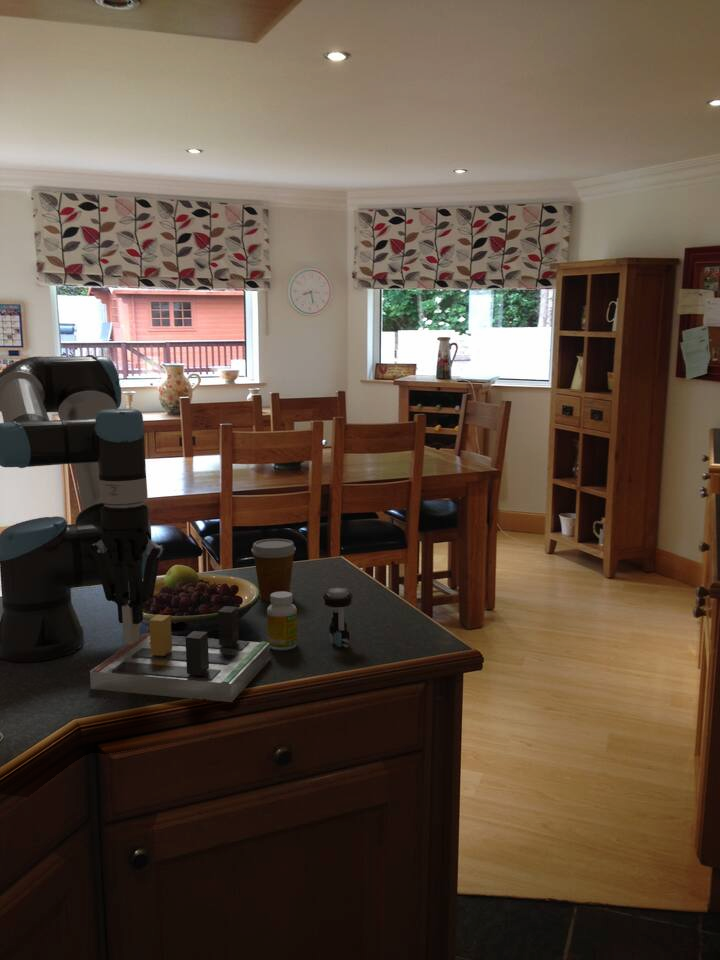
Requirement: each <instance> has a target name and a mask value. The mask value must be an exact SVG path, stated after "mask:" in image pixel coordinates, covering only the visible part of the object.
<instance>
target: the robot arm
mask: <svg viewBox="0 0 720 960" xmlns="http://www.w3.org/2000/svg"><path fill="white" fill-rule="evenodd" d="M121 387H122V386H121V383H120V376H119V373H118V369H117V366H116V365H115V363H114V362H113V360H112V359H110V358H109V357H107V356H104V355H93V354H86V355H85V356H84V355H83V356H82V355H80V356H32V357H25V358H23V359H21V360H18V361H15V362H13V363H12V364H10V365H8V366H6V367H5V368H4V369H2V371H0V412H1V416H2V420H3V422H1V423H0V466H1V467H2V468H20V469H24V468H25V469H26V468H32V467H44V466H45V467H46V466H58V465H71V464H72V465H74V469H75V475H76V476H75V477H76V482H77V488H78V493H79V499H80V500H79V501H80V507H81V510H80V511H79V513H78V514H77V516H76V517H75V523H74V524H72V523H71V524H68V521H67V520H66V518H65V517H64V516H63V517H62V516H43V517H38V518H37V517H36V518H32V519H28V520H25V521H21V522H18V523H15V524H13V525H10V526H9V527H6V528H5V529H3V530H2V531H1V532H0V587H1V588H0V589H1V601H2V602H1V603H2V604H1V605H2V613H1V616H0V659H1V660H4V661H8V662H15V663H16V662H17V663H34V662H43V661H49V660H53V658H54V659H57V657H58V658H60V656H62V657H64V655H65V656H67V655H66V654H68V653H70V654H72V653H74V652H76V651H78V650H79V649H80V648H79V647H80V646H81V645H82V644H83V643H85V639H84V638H85V636H84V635H85V634H84V629H83V627H82V626H81V622H80V620H79V618H78V615H77V613H76V609H75V608H74V606H73V602H72V592H71V591H72V590H71V589H76V588H85V587H87V588H88V587H94V586H102V589H103V592H104V595H105V596H104V597H105V600H107V601H108V602H113V603H115V604H116V605H117V614H118V615H117V616H118V617H117V621H118V622H119V624H122V630H123V631H122V632H123V645H128V644H131V645H132V644H134V643H135V642H137V641H138V640H139V639H140V634H141V633H140V631H141V630H140V623H142V622H143V620H144V609H143V604H146V603H147V602H148V601H150V600H152V599H153V598H154V594H155V587H156V582H157V577H158V571H159V566H160V562H161V561H160V559H161V558H162V556H163V554H164V552H165V550H166V546H165V545H164V544H160V545H159V544H157V543H156V542H154V541H153V539H152V527H151V526H152V525H151V520H150V519H149V518H150V517H149V505H148V504H147V503H146V502H147V500H149V497H148V496H149V495H148V482H147V481H148V480H147V470H146V468H147V467H146V446H145V444H146V443H145V433H146V428H145V425H144V417H143V413H142V412H141V411H140V410H139V409H136V408H135V409H134V408H133V409H131V408H120V407H121V404H122V388H121ZM48 413H57V415H58V417H59V419H56V420H55V419H52V420H50V418H49V415H48ZM83 645H84V644H83ZM78 648H79V649H78ZM77 649H78V650H77ZM75 650H76V651H75ZM73 651H74V652H73ZM71 652H72V653H71ZM68 655H69V654H68Z"/></svg>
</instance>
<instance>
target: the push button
mask: <svg viewBox="0 0 720 960" xmlns="http://www.w3.org/2000/svg"><path fill="white" fill-rule="evenodd" d="M322 596H323V597H322V598H323V600H324V605H325V606H326V607H328V608H330V609H332V610H331V614H332V615H331V616H332V617H331V622H330V623H329V626H328V627H329V629H328V630H329V635H328V638H329V643H330V644H332V645H333V644H334V645H335V646H336V647H338V648H341V647H344V648H349V644H348V643H349V642H350V631H349V630H348V629H347V625H348V624H347V622H346V620H345V609H346V608H347V607H349V606H350V605H351V604H352V600H353V594H352V593H351V592H349V591H348V588H345V587H332V588H331V587H330V588H329V589H328V590H327V592H325V593H324V594H323V595H322Z"/></svg>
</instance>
